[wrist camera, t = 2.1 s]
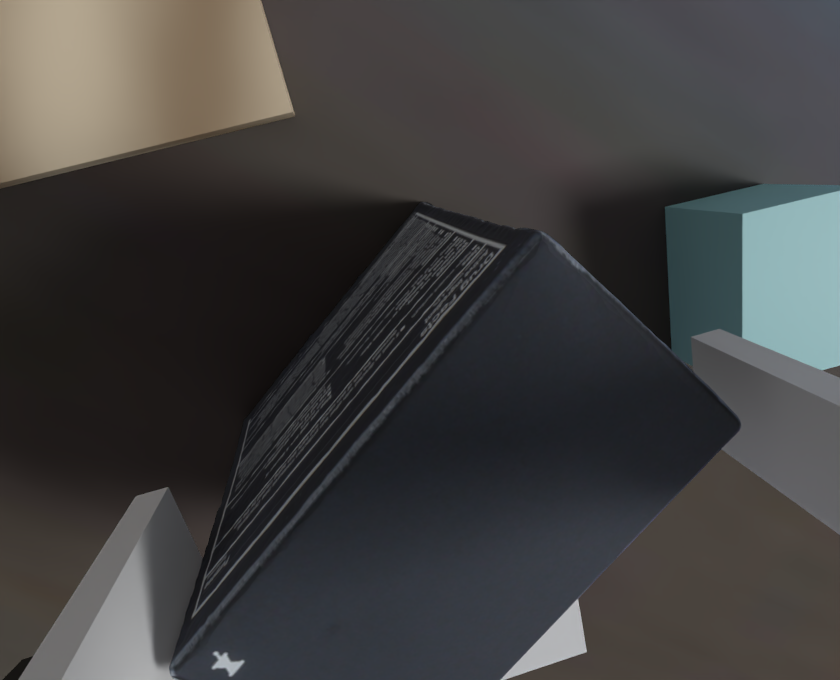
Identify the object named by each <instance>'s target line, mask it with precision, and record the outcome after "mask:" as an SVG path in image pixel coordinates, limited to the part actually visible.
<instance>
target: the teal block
mask: <svg viewBox="0 0 840 680" xmlns="http://www.w3.org/2000/svg"><path fill="white" fill-rule="evenodd" d="M665 222H666V243H667V264H668V284H669V305H670V326H671V347H672V351H673V352H674V353H675V354H676V355H677V356H678V357H679V358H680V359H681V360H682V361H684V362H686V363H688V364H690V365H692V366H693V361H692V347H691V337H692V336H696V335H699V334H703V333H706V332H710V331H713V330H717V329H721V330H724V331H726V332H729V333H731V334H734V335H736V336H738V337H741V338H743V339H746V340H748V341H751V342H753V343H756V344H758V345H760V346H763V347H765V348H768V349H770V350H773V351H775V352H778V353H780V354H783V355H785V356H787V357H790V358H792V359H795V360H797V361H800V362H802V363H805V364H807V365H810V366H812V367H814V368H817V369H819V370H824V369H828V368H832V367H835V366H839V365H840V185H793V184H760V185H756V186H752V187H748V188H743V189H739V190H735V191H731V192H726V193H722V194H718V195H713V196H709V197H705V198H701V199H696V200H692V201H688V202H684V203H679V204H675V205H671V206H667V207H665Z"/></svg>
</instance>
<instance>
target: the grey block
mask: <svg viewBox="0 0 840 680" xmlns="http://www.w3.org/2000/svg"><path fill="white" fill-rule="evenodd" d="M585 652H587V651H586V644H585V638H584V632H583V626H582V620H581V614H580V608H579V602H578V599H577V600H576V601H575V602H574V603H573V604H572V605H571V606H570V607H569V609H568V610H567V611H566V612H565V613H564V614H563V615H562V616H561V617H560V618H559V619H558V620H557V621H556V622H555V623H554V624H553V625H552V626H551V627H550V628H549V629H548V630H547V632H546V633H545V634H544V635H543V636H542V637H541V638H540V639H539V640H538V641H537V642H536V643H535V644H534V645H533V646H532V647H531V648H530V649H529V650H528V651H527V653H526V654H525V655H524V656H523V657H522V658H521V659H520V660H519V661H518V662H517V663H516V664H515V665H514V666H513V667H512V668H511V669H510V670H509V671H508V672H507V673H506V675H505V676H504V677H503V678H502V679H501V680H505V679H508V678H511V677H514V676H517V675H520V674H523V673H525V672H528V671H531V670H534V669H537V668H540V667H543V666H546V665H549V664H552V663H555V662H558V661H561V660H564V659H567V658H570V657H573V656H576V655H579V654H582V653H585Z"/></svg>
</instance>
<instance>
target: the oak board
mask: <svg viewBox="0 0 840 680" xmlns="http://www.w3.org/2000/svg"><path fill="white" fill-rule="evenodd" d="M291 117H295V113H294V110H293V106H292V103H291V100H290V96H289V93H288V90H287V86H286V83H285V79H284V76H283V73H282V69H281V66H280V62H279V59H278V56H277V52H276V49H275V46H274V42H273V39H272V35H271V32H270V29H269V25H268V22H267V19H266V15H265V12H264V8H263V5H262V2H261V0H0V189H1V188H5V187H9V186H13V185H17V184H21V183H26V182H30V181H34V180H38V179H42V178H46V177H50V176H54V175H58V174H62V173H66V172H70V171H75V170H79V169H83V168H87V167H91V166H95V165H99V164H103V163H107V162H111V161H115V160H119V159H123V158H128V157H132V156H136V155H140V154H144V153H148V152H152V151H156V150H160V149H164V148H168V147H172V146H176V145H181V144H185V143H189V142H193V141H197V140H201V139H205V138H209V137H213V136H217V135H221V134H225V133H230V132H234V131H238V130H242V129H246V128H250V127H254V126H258V125H262V124H266V123H270V122H274V121H278V120H283V119H287V118H291Z"/></svg>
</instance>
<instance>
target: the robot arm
mask: <svg viewBox="0 0 840 680" xmlns="http://www.w3.org/2000/svg"><path fill="white" fill-rule="evenodd" d="M691 347H692V361H693V372H694V373H695V374H697V375H698V376H699V377H700V378H701V379H702V380H703V381H704V382H705V383H706V384H707V385H708V386H709V387H710V388H711V389H712V390H713V391H714V392H715V393H716V394H717V395H718V396H719V397H720V398H721V399H722V400H723V401H724V402H725V403H726V404H727V405H728V406H729V408H730V409H731V410H732V411H733V412H734V413H735V414H736V415H737V416H738V417H739V419H740V421H741V429H740V431H739V432H738V433H737V434H736V435H735V436H734V437H733V438H732V439H731V440H730V441H729V442H728V443H727V444H726V445H725V446H724V447H723V448H722V450H723V451H725V452H726V453H727V454H729V455H730V456H731V457H733V458H734V459H736V460H737V461H738V462H740V463H741V464H742V465H744V466H745V467H747V468H748V469H749V470H751V471H752V472H754V473H755V474H756V475H758V476H759V477H760V478H762V479H763V480H765V481H766V482H767V483H769V484H770V485H772V486H773V487H774V488H776V489H777V490H778V491H780V492H781V493H783V494H784V495H785V496H787V497H788V498H790V499H791V500H792V501H794V502H795V503H796V504H798V505H799V506H801V507H802V508H803V509H805V510H806V511H807V512H809V513H810V514H812V515H813V516H814V517H816V518H817V519H819V520H820V521H821V522H823V523H824V524H825V525H827V526H828V527H830V528H831V529H832V530H834V531H835V532H837V533H838V534H839V535H840V378H839V377H836V376H834V375H832V374H829V373H827V372H824V371H822V370H819V369H817V368H814V367H812V366H810V365H807V364H805V363H802V362H800V361H797V360H795V359H792V358H790V357H787V356H785V355H783V354H780V353H778V352H775V351H773V350H770V349H768V348H765V347H763V346H760V345H758V344H756V343H753V342H751V341H748V340H746V339H743V338H741V337H738V336H736V335H734V334H731V333H729V332H726V331H724V330H721V329H717V330H713V331H710V332H706V333H703V334H699V335H696V336H692V337H691ZM201 563H202V557H201V555H200V553H199V550H198V548H197V546H196V544H195V542H194V540H193V538H192V536H191V534H190V531H189V529H188V527H187V525H186V523H185V521H184V519H183V517H182V515H181V513H180V510H179V508H178V506H177V504H176V502H175V500H174V498H173V496H172V494H171V491H170V489H169V487H166V488H163V489H159V490H156V491H152V492H149V493H145V494H142V495H138V496H136V497H135V498H134V500H133V501H132V503H131V504H130V506H129V507H128V509H127V511H126V512H125V514H124V515H123V517H122V518H121V520H120V522H119V523H118V525H117V526H116V528H115V529H114V531H113V533H112V534H111V536H110V537H109V539H108V540H107V542H106V543H105V545H104V547H103V548H102V550H101V551H100V553H99V554H98V556H97V558H96V559H95V561H94V562H93V564H92V565H91V567H90V568H89V570H88V572H87V573H86V575H85V576H84V578H83V579H82V581H81V583H80V584H79V586H78V587H77V589H76V590H75V592H74V593H73V595H72V597H71V598H70V600H69V601H68V603H67V604H66V606H65V608H64V609H63V611H62V612H61V614H60V615H59V617H58V618H57V620H56V622H55V623H54V625H53V626H52V628H51V629H50V631H49V633H48V634H47V636H46V637H45V639H44V640H43V642H42V643H41V645H40V647H39V648H38V650H37V651H36V653H35V654H34V656H33V657H29V658H26V659H23V660H22V661H21V662H20V663H19V664H18V665H17V666H16V667H15V668H14V669H13V670H12V671H11V672H10V673H9V674H8V675H7V676H6V677H5V678H4V679H3V680H175V679H173V678H172V677H171V675H170V671H169V666H170V663H171V660H172V657H173V654H174V651H175V647H176V643H177V641H178V638H179V636H180V632H181V628H182V625H183V623H184V619H185V613H186V610H187V608H188V605H189V601H190V598H191V596H192V594H193V591H194V587H195V582H196V579H197V577H198V573H199V570H200V568H201Z"/></svg>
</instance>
